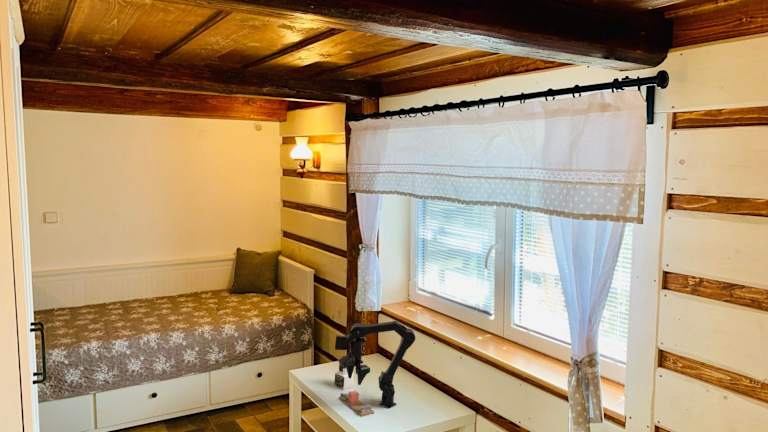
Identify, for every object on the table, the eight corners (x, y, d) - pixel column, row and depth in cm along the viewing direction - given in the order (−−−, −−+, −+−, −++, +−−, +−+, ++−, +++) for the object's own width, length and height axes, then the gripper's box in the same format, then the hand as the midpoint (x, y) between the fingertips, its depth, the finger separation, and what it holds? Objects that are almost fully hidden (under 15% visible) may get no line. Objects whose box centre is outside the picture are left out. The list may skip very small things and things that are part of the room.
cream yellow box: (334, 385, 292) (335, 363, 291) (344, 382, 297) (345, 360, 296) (343, 390, 287) (344, 367, 286) (353, 386, 293) (354, 364, 291)
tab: (341, 395, 278) (341, 386, 277) (348, 394, 280) (348, 385, 279) (351, 403, 269) (351, 394, 269) (358, 401, 271) (358, 393, 271)
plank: (339, 398, 277) (339, 391, 276) (351, 396, 280) (351, 389, 280) (361, 416, 258) (361, 409, 258) (374, 413, 262) (374, 406, 262)
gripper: (332, 346, 273) (330, 377, 274) (350, 358, 257) (349, 391, 259) (352, 343, 279) (350, 374, 280) (371, 355, 263) (369, 387, 265)
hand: (354, 381), depth 271 cm, fingers open, 9 cm apart
